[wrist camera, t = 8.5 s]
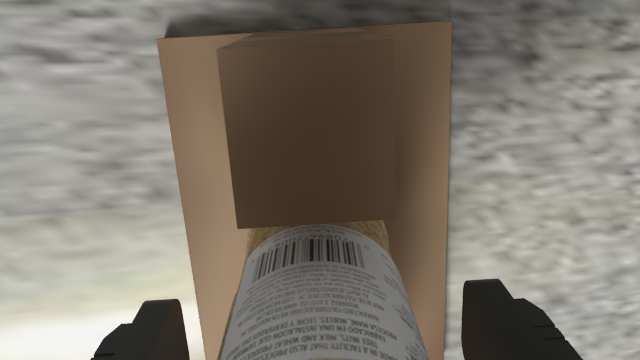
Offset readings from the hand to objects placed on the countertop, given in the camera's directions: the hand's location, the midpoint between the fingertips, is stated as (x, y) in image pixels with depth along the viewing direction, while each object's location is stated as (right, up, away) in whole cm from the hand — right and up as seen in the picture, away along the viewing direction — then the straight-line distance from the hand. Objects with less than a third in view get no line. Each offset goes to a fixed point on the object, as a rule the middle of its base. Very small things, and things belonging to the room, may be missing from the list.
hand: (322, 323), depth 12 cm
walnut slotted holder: (0, +2, +6) cm, 7 cm away
